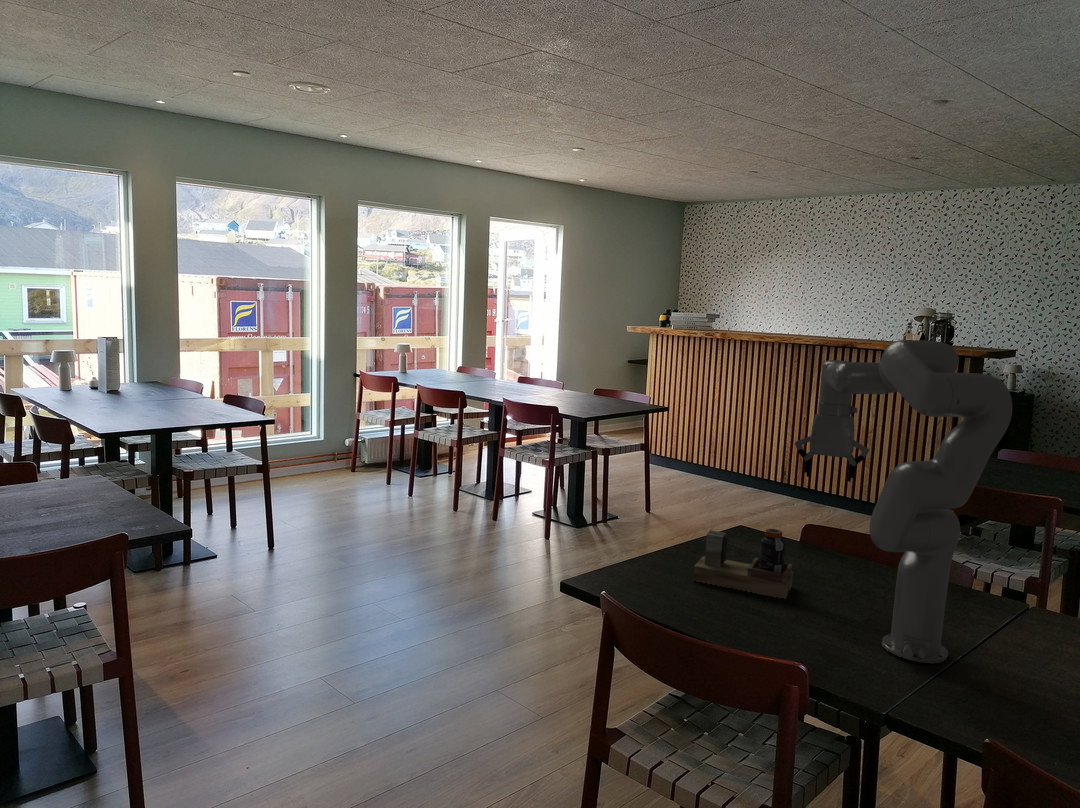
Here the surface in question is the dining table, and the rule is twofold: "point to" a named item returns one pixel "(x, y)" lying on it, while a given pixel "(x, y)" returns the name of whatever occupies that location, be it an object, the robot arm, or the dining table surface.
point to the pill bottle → (772, 551)
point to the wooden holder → (739, 571)
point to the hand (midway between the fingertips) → (828, 478)
